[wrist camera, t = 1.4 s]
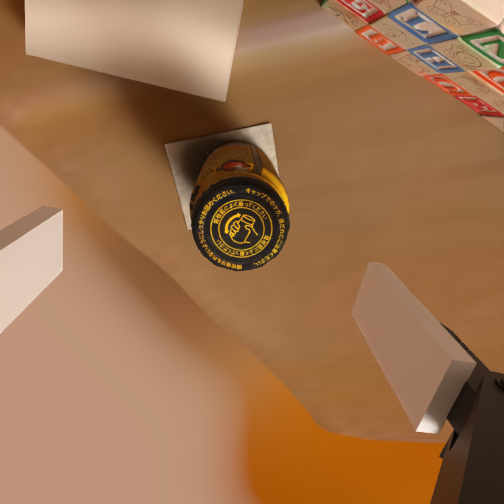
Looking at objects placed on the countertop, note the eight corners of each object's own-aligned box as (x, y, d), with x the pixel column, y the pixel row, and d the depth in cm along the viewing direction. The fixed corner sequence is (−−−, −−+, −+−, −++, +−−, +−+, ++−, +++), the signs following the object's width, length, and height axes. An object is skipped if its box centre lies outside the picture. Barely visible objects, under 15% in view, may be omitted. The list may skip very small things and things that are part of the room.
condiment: (284, 211, 31) (311, 275, 20) (188, 229, 31) (163, 302, 20) (271, 122, 28) (294, 142, 17) (164, 143, 29) (121, 175, 18)
